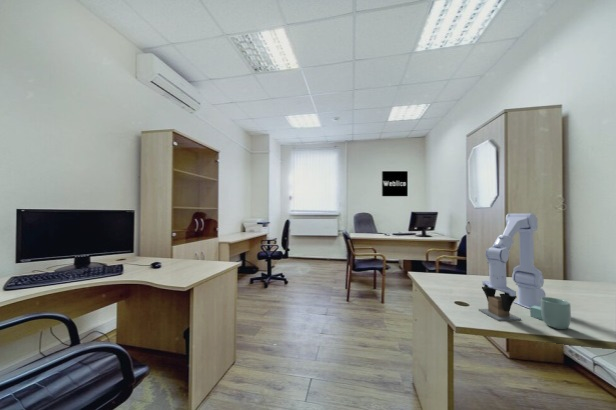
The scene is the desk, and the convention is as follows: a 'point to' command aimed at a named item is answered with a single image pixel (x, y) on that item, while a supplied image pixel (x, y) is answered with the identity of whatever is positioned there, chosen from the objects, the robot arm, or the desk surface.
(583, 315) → the desk surface
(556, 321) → the cup
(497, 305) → the walnut block
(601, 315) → the desk surface
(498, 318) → the slate coaster
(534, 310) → the teal block
